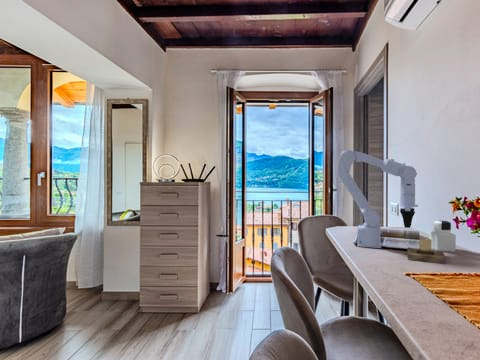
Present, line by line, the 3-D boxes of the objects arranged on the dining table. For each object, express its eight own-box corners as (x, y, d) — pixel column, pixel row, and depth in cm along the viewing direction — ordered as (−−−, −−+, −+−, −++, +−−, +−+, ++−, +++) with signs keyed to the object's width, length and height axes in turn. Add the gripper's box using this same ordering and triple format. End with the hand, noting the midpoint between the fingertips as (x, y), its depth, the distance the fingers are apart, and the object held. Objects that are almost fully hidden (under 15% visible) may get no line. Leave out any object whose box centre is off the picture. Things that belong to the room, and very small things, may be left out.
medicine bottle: (446, 247, 139) (446, 219, 139) (455, 251, 132) (456, 222, 131) (428, 247, 140) (429, 219, 139) (437, 251, 132) (437, 222, 132)
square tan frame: (407, 259, 121) (407, 254, 121) (407, 252, 132) (407, 247, 132) (445, 263, 116) (445, 258, 115) (442, 255, 126) (442, 250, 126)
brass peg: (419, 258, 123) (419, 240, 122) (418, 255, 126) (419, 237, 126) (431, 259, 121) (432, 240, 121) (430, 256, 125) (431, 238, 124)
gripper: (419, 195, 130) (418, 229, 130) (417, 193, 143) (417, 224, 143) (399, 195, 133) (399, 228, 133) (399, 193, 146) (399, 223, 146)
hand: (407, 226), depth 139 cm, fingers open, 7 cm apart
